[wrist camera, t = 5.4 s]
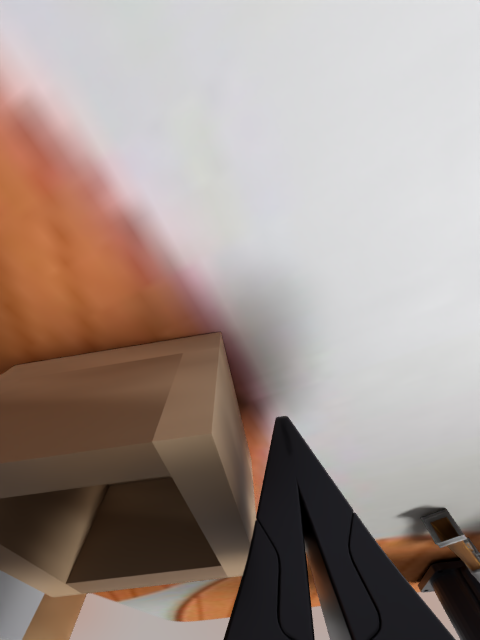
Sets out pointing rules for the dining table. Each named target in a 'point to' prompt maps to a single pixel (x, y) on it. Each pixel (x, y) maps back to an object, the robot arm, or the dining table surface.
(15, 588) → the wall
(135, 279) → the dining table surface
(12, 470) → the socket block
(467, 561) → the brown and silver rod
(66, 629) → the dowel
